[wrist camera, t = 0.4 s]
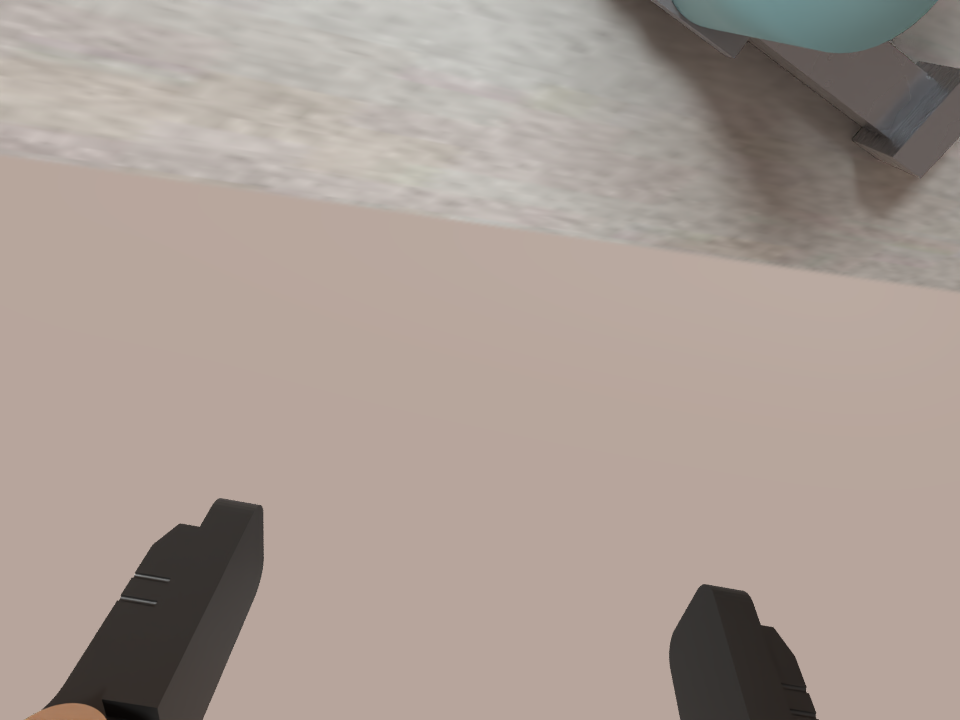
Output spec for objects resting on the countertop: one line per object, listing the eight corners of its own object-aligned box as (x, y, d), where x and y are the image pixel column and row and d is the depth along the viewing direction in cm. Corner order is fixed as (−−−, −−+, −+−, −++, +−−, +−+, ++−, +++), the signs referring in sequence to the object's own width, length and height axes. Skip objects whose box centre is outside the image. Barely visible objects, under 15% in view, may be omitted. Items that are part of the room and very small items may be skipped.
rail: (634, -173, 22) (655, -195, 20) (945, 82, 27) (998, 94, 24) (575, -67, 24) (587, -73, 21) (877, 158, 28) (920, 178, 25)
